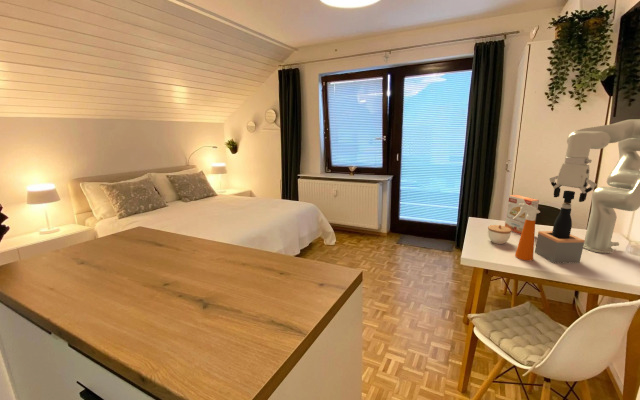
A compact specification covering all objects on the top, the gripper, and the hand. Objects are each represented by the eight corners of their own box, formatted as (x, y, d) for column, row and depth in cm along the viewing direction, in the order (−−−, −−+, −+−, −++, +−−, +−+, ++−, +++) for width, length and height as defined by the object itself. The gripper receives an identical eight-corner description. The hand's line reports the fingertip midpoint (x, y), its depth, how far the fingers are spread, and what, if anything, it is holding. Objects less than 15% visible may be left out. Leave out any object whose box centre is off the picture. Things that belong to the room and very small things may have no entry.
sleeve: (558, 252, 147) (563, 231, 144) (579, 263, 135) (584, 240, 132) (534, 252, 147) (538, 231, 144) (553, 263, 135) (558, 240, 132)
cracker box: (503, 228, 180) (508, 195, 175) (511, 227, 182) (516, 194, 177) (525, 236, 167) (531, 200, 162) (533, 235, 169) (539, 199, 164)
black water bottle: (558, 250, 143) (570, 189, 136) (569, 256, 137) (582, 192, 130) (545, 250, 143) (556, 190, 136) (555, 256, 137) (568, 193, 130)
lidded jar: (508, 240, 162) (511, 223, 160) (510, 247, 153) (513, 229, 151) (486, 237, 167) (488, 221, 165) (486, 243, 158) (488, 226, 155)
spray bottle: (504, 253, 146) (512, 201, 139) (528, 255, 143) (538, 202, 137) (509, 259, 139) (518, 204, 133) (535, 261, 137) (546, 206, 130)
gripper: (605, 162, 124) (596, 202, 128) (558, 158, 139) (551, 194, 143) (596, 164, 121) (587, 204, 125) (549, 159, 136) (542, 196, 140)
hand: (568, 199), depth 134 cm, fingers open, 9 cm apart
